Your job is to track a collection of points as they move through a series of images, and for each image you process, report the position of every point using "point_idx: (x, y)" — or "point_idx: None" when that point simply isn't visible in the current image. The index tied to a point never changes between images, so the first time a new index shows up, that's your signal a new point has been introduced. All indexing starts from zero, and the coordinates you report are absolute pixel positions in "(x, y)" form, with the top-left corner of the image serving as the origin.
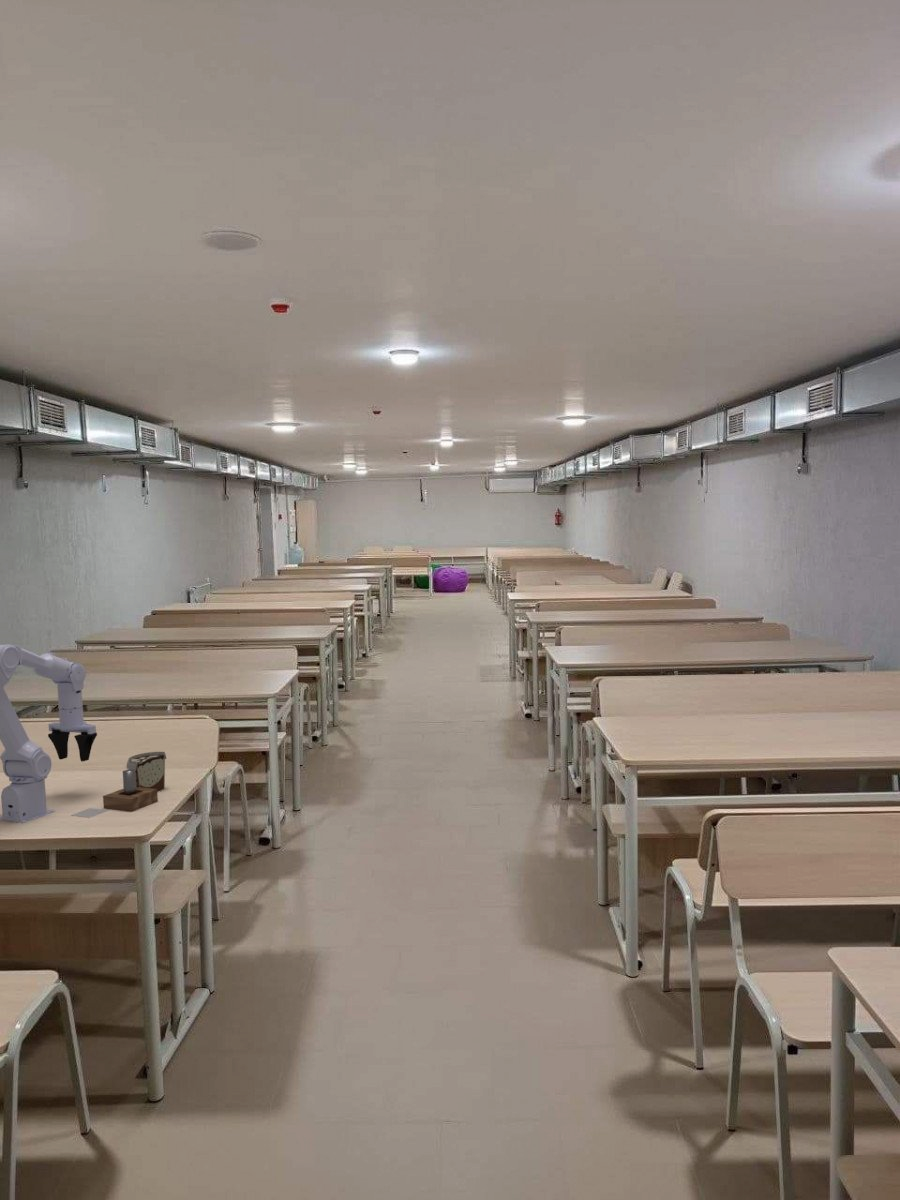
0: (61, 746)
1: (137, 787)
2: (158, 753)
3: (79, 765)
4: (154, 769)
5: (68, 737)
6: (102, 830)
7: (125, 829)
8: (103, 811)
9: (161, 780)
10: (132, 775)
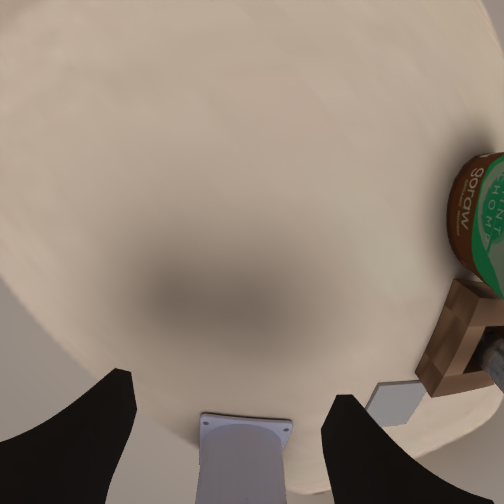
0: (100, 466)
1: (499, 302)
2: None
3: None
4: None
5: (50, 475)
6: (442, 436)
7: (473, 418)
8: (423, 390)
9: None
10: None
